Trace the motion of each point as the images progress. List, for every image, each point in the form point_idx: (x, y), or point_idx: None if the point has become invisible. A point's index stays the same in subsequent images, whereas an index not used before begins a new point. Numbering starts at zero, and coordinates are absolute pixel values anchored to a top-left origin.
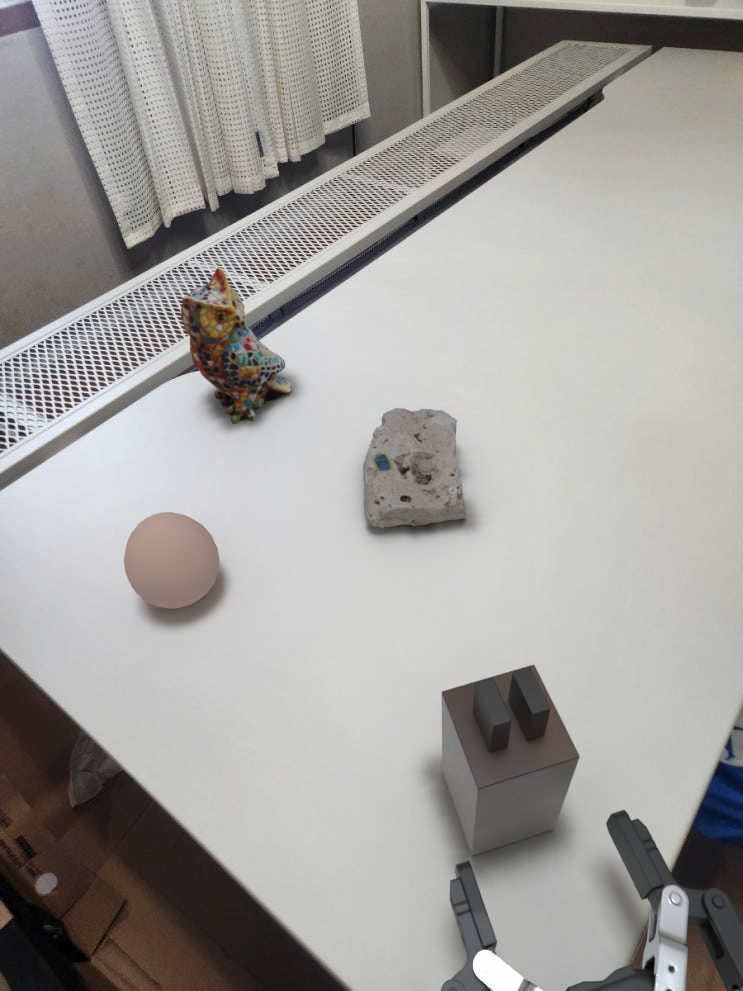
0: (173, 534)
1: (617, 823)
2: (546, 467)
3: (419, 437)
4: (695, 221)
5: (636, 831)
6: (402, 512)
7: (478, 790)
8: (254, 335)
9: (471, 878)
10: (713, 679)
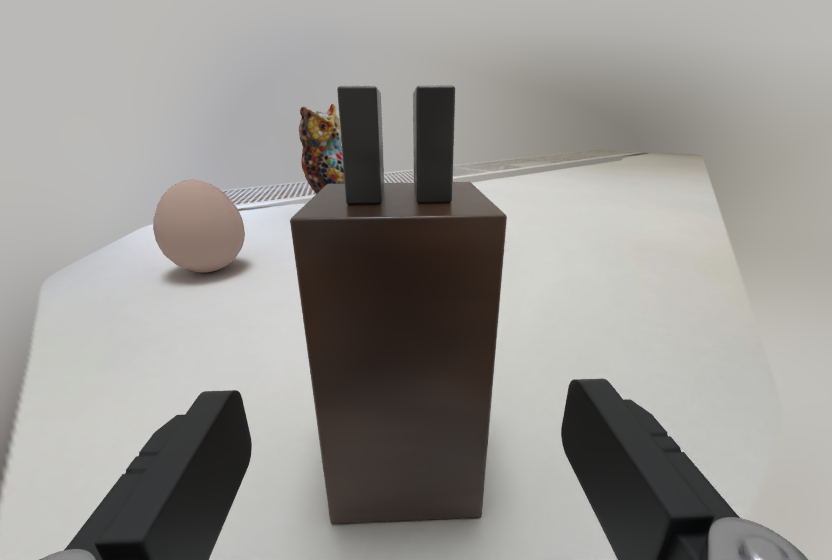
0: (199, 187)
1: (580, 392)
2: (551, 252)
3: None
4: (682, 187)
5: (625, 403)
6: None
7: (291, 227)
8: None
9: (213, 408)
10: (748, 396)
